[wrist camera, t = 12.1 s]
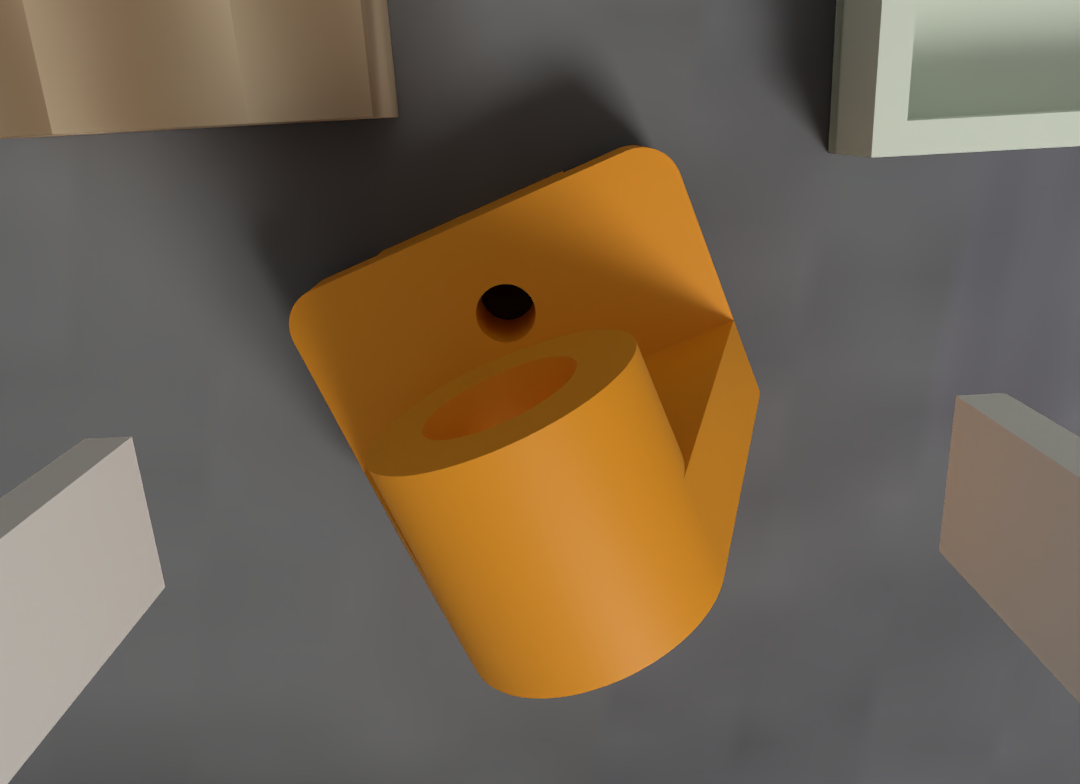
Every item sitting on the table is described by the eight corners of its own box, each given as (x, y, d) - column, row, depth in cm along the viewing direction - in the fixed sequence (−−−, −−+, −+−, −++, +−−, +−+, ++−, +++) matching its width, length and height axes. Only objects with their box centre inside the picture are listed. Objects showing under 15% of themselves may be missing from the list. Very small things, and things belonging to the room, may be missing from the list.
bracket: (649, 131, 23) (774, 144, 11) (735, 364, 25) (914, 571, 13) (301, 286, 24) (97, 438, 12) (412, 496, 26) (323, 789, 15)
